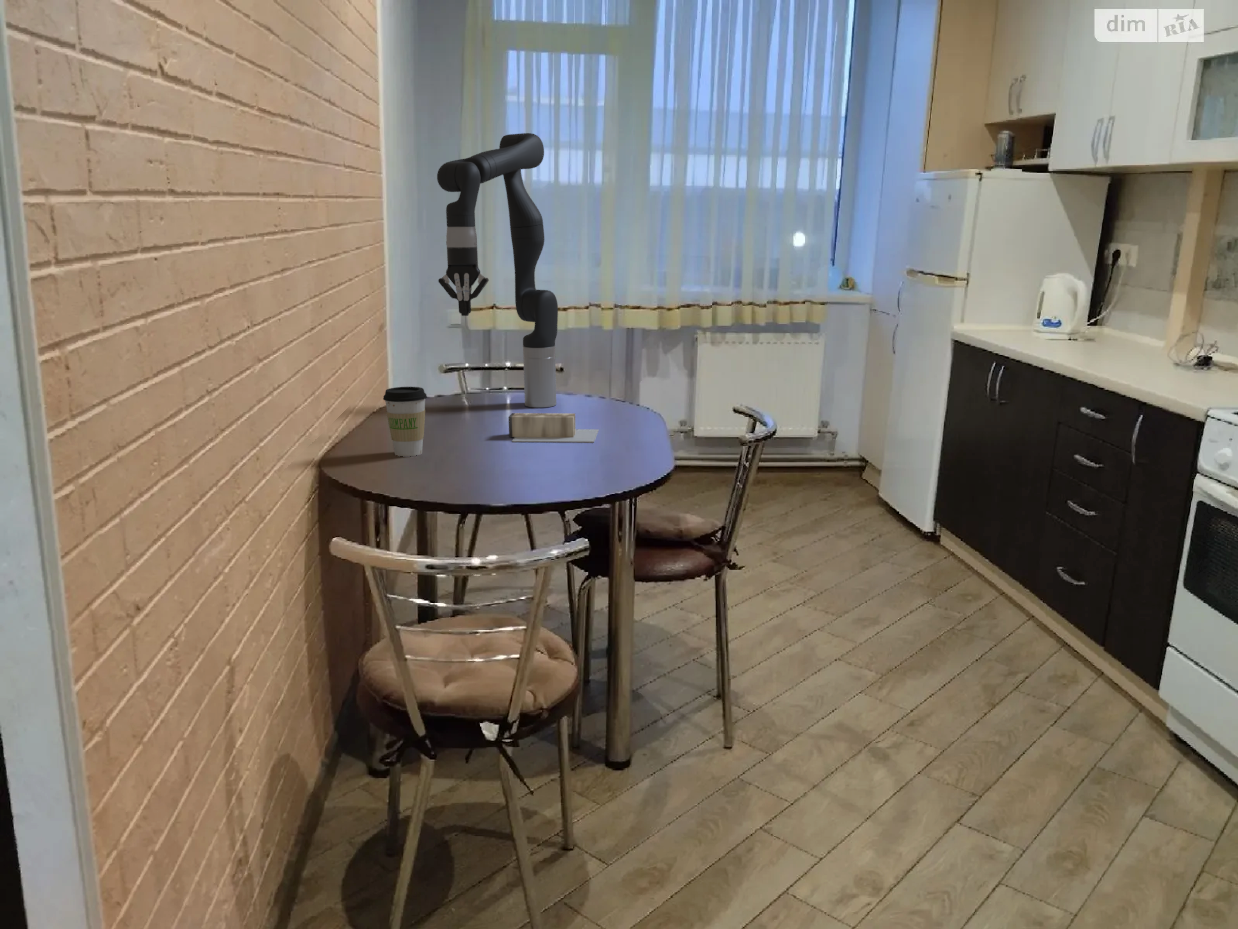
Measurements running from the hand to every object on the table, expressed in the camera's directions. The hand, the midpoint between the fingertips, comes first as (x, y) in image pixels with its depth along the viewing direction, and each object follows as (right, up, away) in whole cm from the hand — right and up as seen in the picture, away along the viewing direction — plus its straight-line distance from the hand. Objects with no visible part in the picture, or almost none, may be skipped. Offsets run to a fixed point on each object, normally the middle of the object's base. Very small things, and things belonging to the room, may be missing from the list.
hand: (465, 315), depth 247 cm
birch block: (+12, -28, -4) cm, 31 cm away
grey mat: (+23, -31, -4) cm, 39 cm away
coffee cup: (-10, -35, -21) cm, 43 cm away
